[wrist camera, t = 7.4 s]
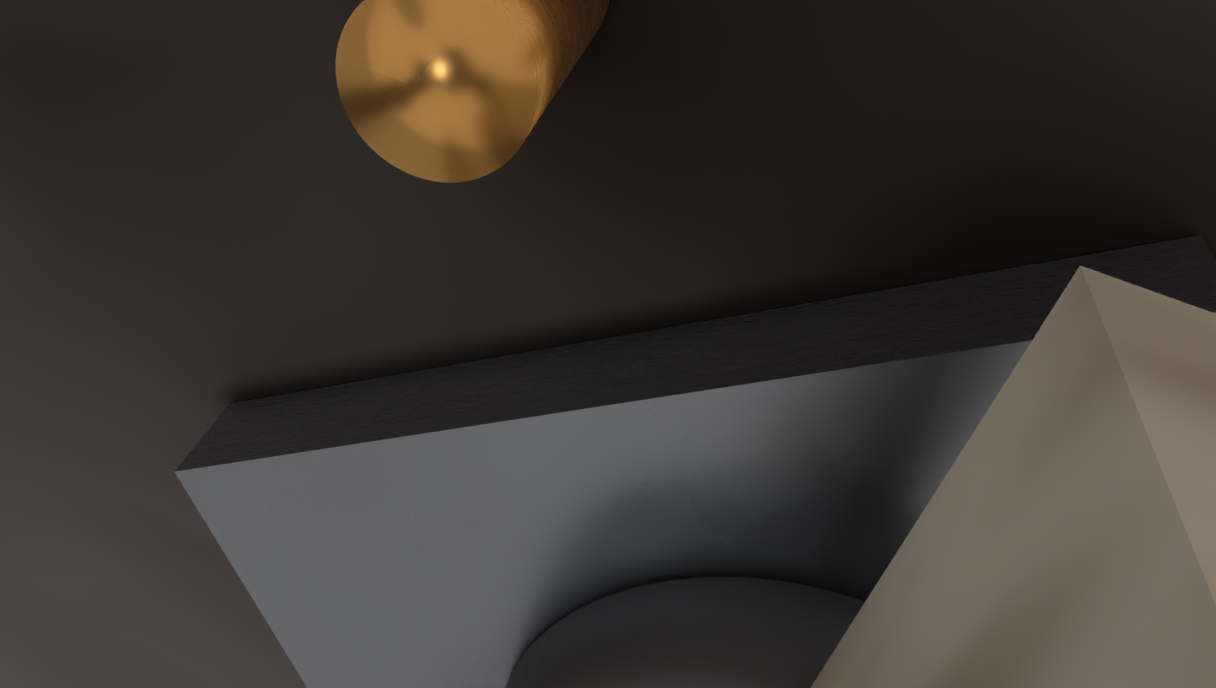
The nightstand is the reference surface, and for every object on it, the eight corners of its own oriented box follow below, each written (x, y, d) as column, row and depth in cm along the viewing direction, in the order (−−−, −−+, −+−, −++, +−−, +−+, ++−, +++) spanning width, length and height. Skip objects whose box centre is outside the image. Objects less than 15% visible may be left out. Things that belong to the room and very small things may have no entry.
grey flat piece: (521, 918, 20) (464, 1143, 17) (32, 51, 12) (-235, 180, 9) (1230, 920, 17) (1319, 1205, 14) (1178, -308, 9) (1360, -293, 6)
